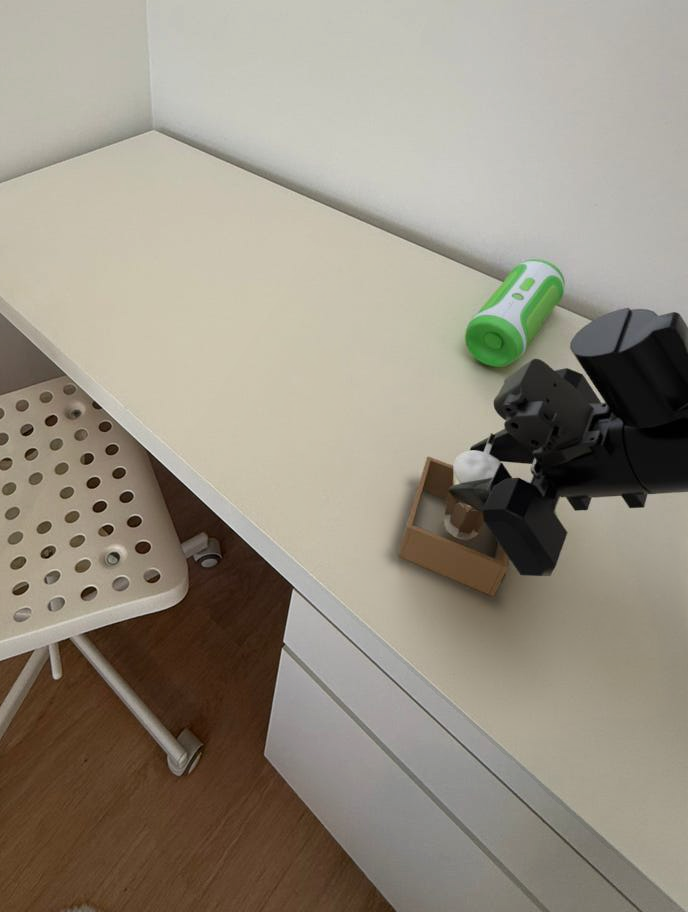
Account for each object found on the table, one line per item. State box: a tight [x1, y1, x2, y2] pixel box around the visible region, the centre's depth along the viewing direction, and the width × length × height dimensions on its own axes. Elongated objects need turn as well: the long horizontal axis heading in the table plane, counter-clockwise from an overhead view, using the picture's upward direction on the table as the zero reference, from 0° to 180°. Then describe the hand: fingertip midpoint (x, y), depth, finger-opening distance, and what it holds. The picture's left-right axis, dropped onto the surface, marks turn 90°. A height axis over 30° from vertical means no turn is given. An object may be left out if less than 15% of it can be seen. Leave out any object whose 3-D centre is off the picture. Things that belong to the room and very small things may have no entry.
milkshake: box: [442, 432, 502, 541], centre depth 61 cm, size 4×5×10 cm
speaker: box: [464, 258, 566, 368], centre depth 87 cm, size 18×7×8 cm, turn 139°
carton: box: [397, 456, 510, 597], centre depth 64 cm, size 9×9×5 cm
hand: (462, 471), depth 61 cm, fingers closed on milkshake, 5 cm apart
